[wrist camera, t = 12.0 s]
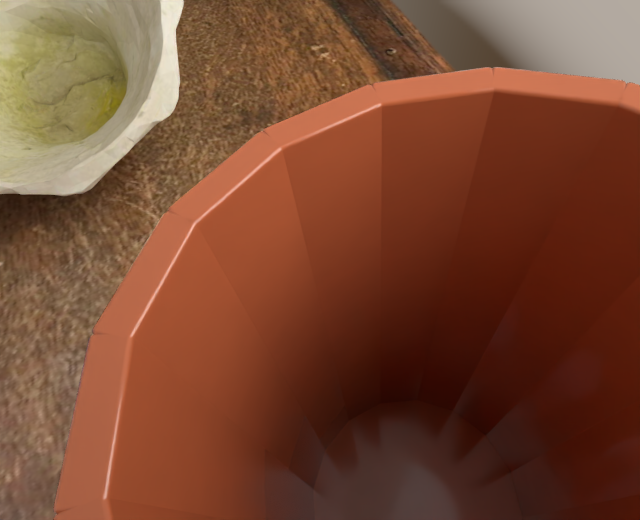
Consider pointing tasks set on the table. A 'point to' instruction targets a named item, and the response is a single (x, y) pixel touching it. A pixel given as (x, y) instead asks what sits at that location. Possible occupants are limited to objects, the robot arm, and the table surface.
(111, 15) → the bowl
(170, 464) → the terracotta cup
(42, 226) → the table surface
